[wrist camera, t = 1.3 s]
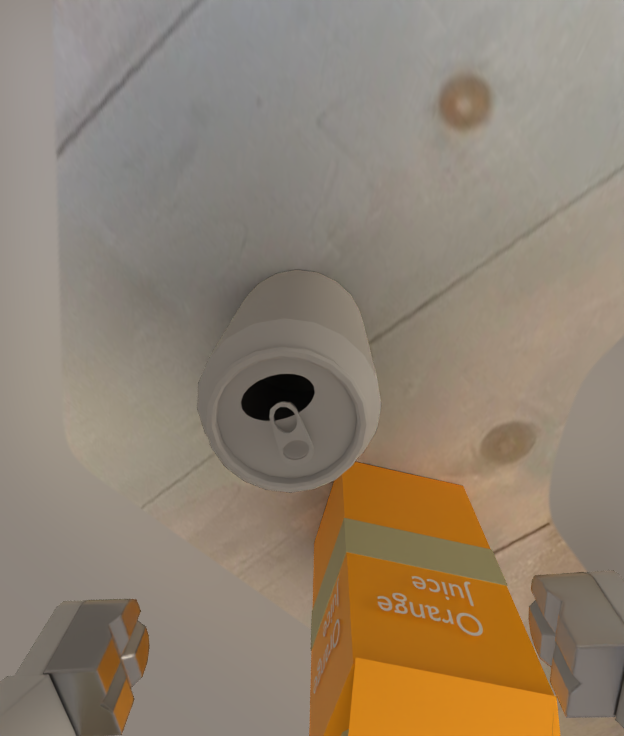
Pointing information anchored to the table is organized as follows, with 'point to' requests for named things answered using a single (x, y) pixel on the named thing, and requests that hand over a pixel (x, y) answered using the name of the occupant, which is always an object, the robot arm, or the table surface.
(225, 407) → the can
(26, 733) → the robot arm
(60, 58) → the table surface
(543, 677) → the orange juice
